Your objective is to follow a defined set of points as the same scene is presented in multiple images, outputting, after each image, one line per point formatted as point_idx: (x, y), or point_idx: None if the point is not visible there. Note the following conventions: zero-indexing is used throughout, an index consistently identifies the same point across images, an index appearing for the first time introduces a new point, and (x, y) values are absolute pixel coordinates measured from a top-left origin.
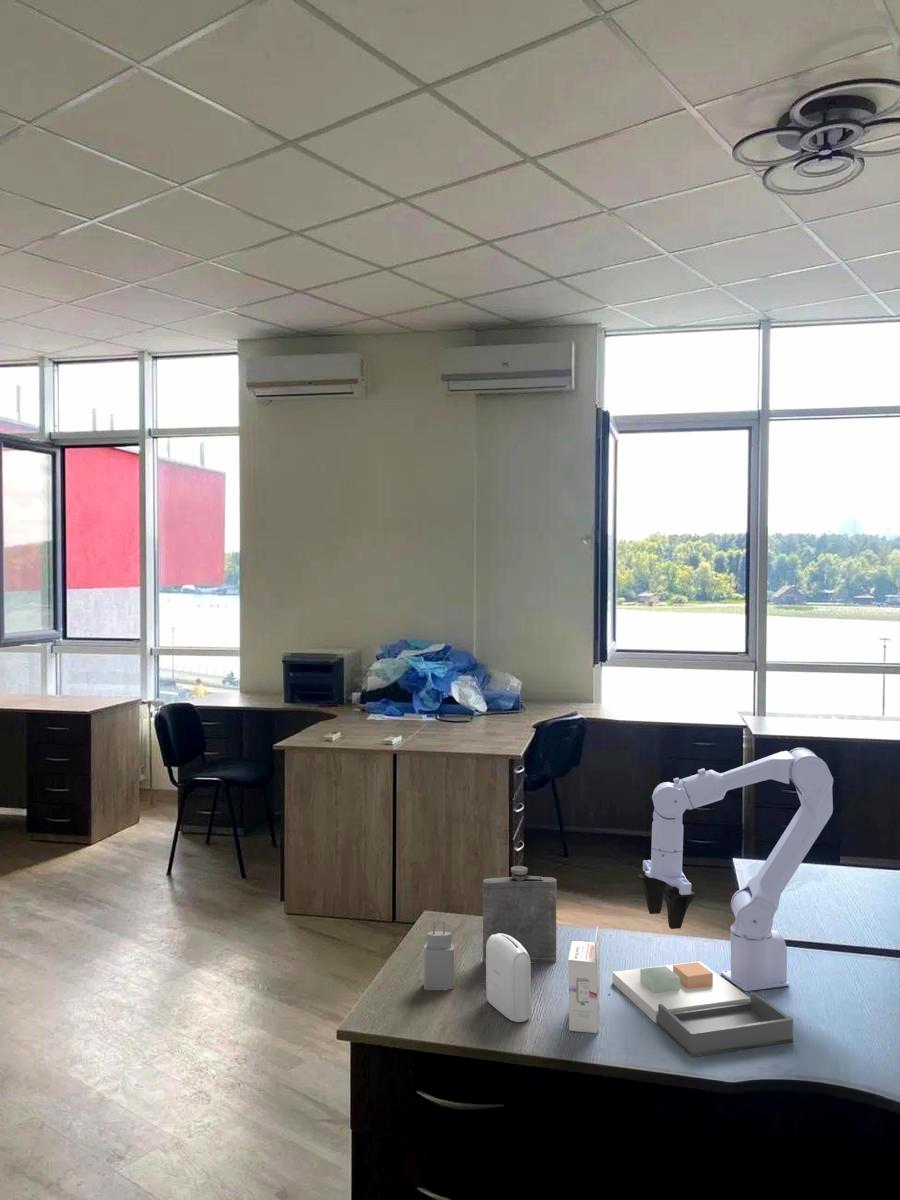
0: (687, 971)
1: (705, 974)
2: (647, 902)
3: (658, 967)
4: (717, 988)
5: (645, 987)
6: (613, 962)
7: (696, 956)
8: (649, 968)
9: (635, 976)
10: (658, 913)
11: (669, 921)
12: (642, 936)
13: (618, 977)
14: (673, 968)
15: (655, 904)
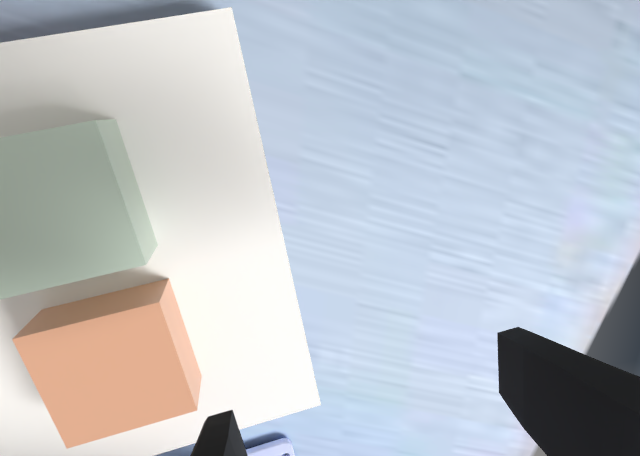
0: (80, 350)
1: (54, 417)
2: (582, 361)
3: (125, 225)
4: None
5: (40, 123)
6: (430, 92)
7: (430, 392)
8: (106, 174)
9: (174, 111)
10: (499, 383)
11: (202, 453)
12: (609, 263)
13: (164, 18)
14: (155, 296)
15: (547, 410)
